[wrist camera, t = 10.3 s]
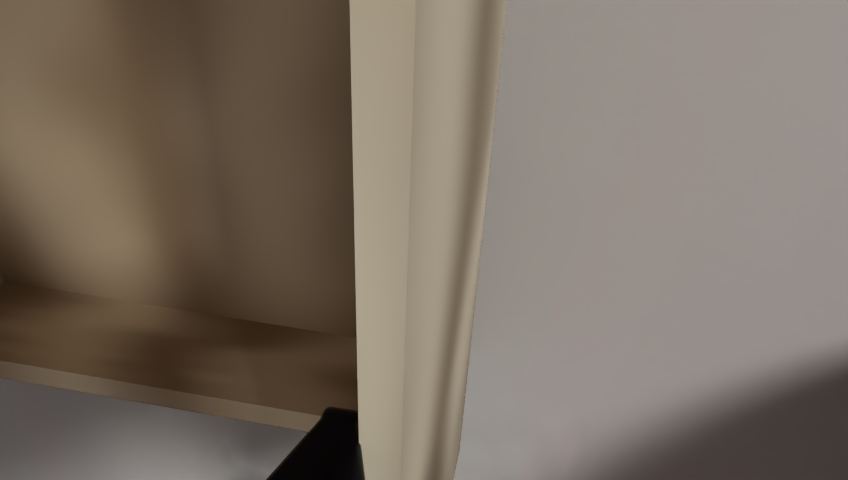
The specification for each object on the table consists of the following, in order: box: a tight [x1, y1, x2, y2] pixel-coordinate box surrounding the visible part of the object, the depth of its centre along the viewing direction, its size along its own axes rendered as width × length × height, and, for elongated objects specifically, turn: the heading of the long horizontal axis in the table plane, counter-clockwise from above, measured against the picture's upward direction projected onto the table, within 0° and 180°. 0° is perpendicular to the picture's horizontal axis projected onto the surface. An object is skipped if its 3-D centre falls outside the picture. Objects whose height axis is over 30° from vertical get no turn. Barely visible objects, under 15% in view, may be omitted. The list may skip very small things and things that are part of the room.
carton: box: [0, 0, 358, 432], centre depth 18 cm, size 16×20×4 cm
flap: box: [349, 0, 507, 480], centre depth 12 cm, size 8×19×1 cm
